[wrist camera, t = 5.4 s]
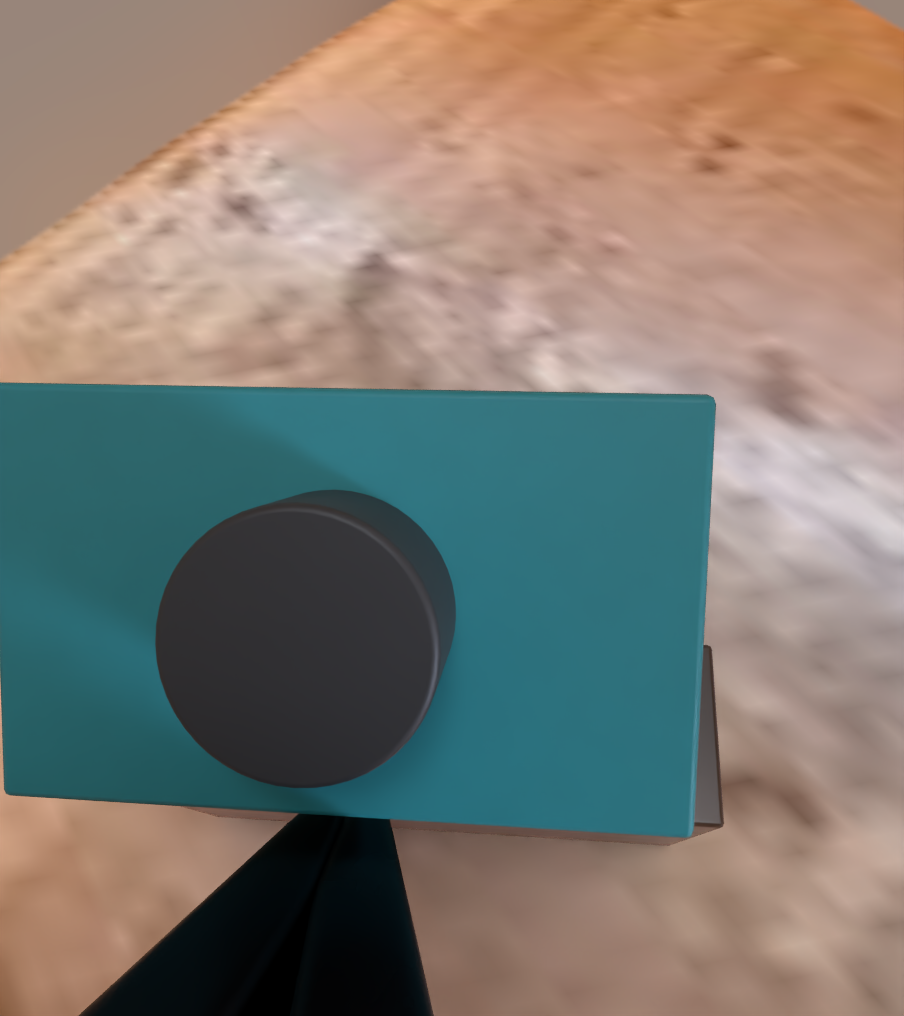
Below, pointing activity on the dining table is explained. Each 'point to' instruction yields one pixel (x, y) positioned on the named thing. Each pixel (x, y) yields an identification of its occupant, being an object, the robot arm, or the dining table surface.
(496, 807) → the plastic bottle
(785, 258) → the dining table surface
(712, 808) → the walnut block
